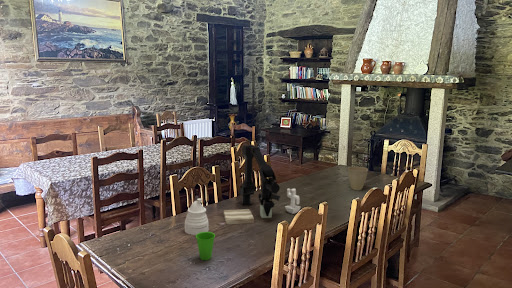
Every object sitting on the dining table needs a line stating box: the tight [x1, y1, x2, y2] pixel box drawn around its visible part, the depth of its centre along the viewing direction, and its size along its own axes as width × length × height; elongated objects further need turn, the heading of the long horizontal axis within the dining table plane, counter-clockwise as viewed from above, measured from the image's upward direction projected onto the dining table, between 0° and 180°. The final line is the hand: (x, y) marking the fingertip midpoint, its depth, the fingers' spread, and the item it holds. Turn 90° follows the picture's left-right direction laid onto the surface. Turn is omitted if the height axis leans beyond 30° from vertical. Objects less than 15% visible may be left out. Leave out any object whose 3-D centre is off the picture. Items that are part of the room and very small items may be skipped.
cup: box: [195, 231, 216, 261], centre depth 180 cm, size 9×9×11 cm
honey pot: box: [184, 198, 209, 236], centre depth 211 cm, size 13×13×18 cm
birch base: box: [223, 208, 255, 225], centre depth 230 cm, size 16×16×2 cm
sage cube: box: [259, 204, 273, 219], centre depth 235 cm, size 6×6×6 cm
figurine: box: [284, 188, 302, 215], centre depth 241 cm, size 7×9×15 cm
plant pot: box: [347, 166, 369, 191], centre depth 293 cm, size 15×15×16 cm
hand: (265, 213), depth 235 cm, fingers open, 9 cm apart
